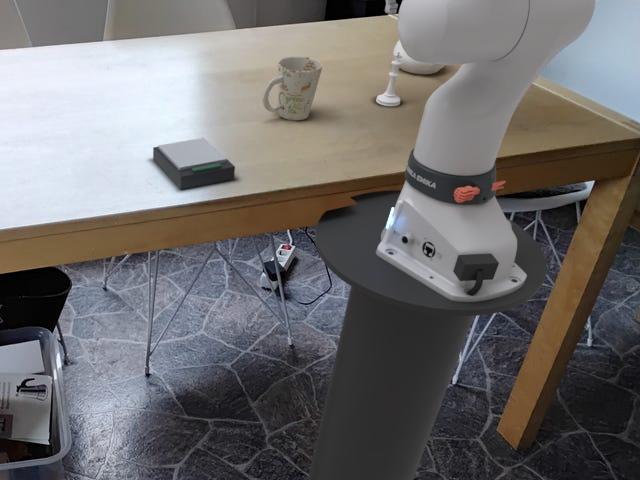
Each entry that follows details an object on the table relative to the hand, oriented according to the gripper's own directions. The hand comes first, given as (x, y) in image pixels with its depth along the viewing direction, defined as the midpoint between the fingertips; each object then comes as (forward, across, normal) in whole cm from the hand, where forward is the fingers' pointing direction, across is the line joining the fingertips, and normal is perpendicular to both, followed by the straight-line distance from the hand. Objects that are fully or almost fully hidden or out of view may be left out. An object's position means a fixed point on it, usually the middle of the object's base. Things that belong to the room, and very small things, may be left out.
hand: (405, 20), depth 141 cm
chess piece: (+16, 0, 0) cm, 16 cm away
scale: (+16, +13, -51) cm, 55 cm away
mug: (+16, -1, -24) cm, 29 cm away
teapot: (+16, -14, +19) cm, 29 cm away
